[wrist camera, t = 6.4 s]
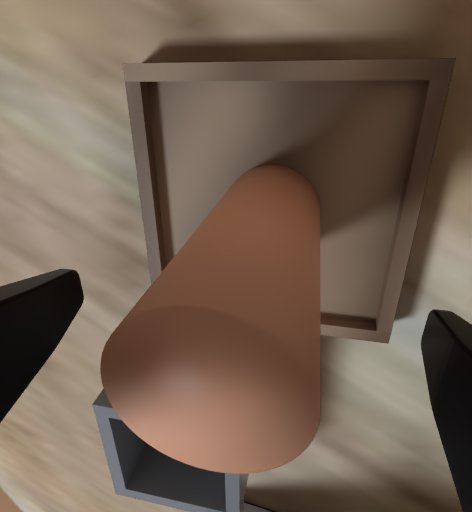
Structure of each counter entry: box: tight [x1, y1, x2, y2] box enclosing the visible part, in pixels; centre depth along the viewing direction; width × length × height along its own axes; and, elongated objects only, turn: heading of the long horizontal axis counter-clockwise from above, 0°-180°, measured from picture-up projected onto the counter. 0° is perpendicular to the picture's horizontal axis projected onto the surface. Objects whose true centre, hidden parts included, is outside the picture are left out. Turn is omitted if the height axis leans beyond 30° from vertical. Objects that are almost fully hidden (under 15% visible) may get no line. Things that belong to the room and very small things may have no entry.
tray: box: [123, 58, 456, 343], centre depth 15 cm, size 11×11×1 cm
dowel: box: [101, 165, 321, 474], centre depth 11 cm, size 4×4×10 cm
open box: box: [92, 389, 249, 512], centre depth 20 cm, size 7×7×5 cm
